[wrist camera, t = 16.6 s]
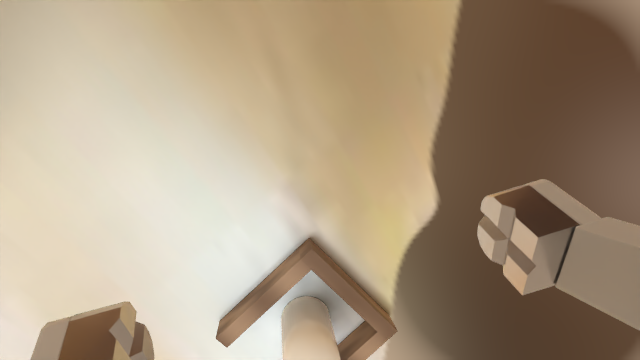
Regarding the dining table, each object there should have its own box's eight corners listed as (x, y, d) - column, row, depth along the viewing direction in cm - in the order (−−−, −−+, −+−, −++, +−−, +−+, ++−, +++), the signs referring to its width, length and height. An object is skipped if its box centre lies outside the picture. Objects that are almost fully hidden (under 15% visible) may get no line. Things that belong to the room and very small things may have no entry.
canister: (293, 348, 44) (302, 452, 31) (271, 309, 42) (271, 402, 30) (338, 326, 44) (364, 422, 31) (317, 287, 42) (336, 370, 30)
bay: (304, 391, 45) (306, 412, 42) (219, 321, 42) (215, 338, 39) (389, 315, 44) (397, 331, 41) (309, 237, 41) (311, 249, 38)
